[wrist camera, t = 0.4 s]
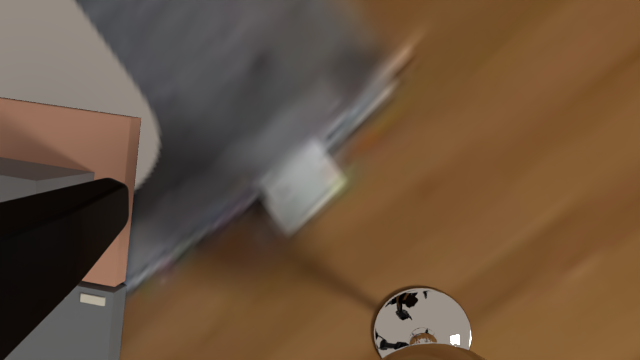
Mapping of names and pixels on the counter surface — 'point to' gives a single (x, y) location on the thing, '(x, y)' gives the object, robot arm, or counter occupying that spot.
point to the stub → (69, 161)
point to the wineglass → (423, 327)
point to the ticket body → (79, 327)
